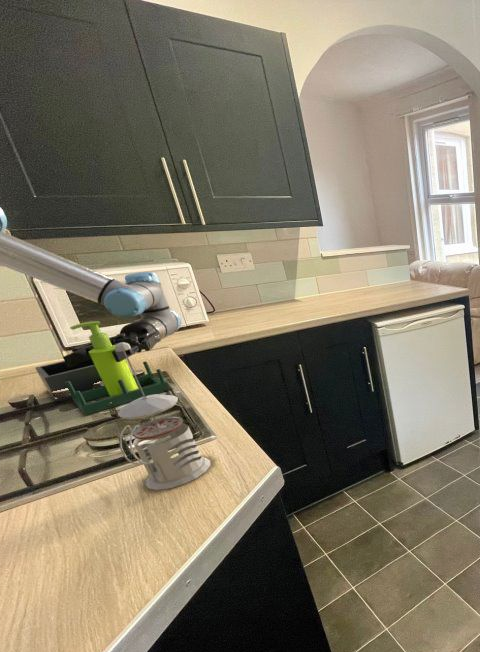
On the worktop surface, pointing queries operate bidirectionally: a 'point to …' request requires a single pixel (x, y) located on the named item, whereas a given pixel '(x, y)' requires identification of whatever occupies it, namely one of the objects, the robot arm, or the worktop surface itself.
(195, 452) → the french press
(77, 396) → the dish rack
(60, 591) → the worktop surface
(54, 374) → the basin
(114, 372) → the soap dispenser
